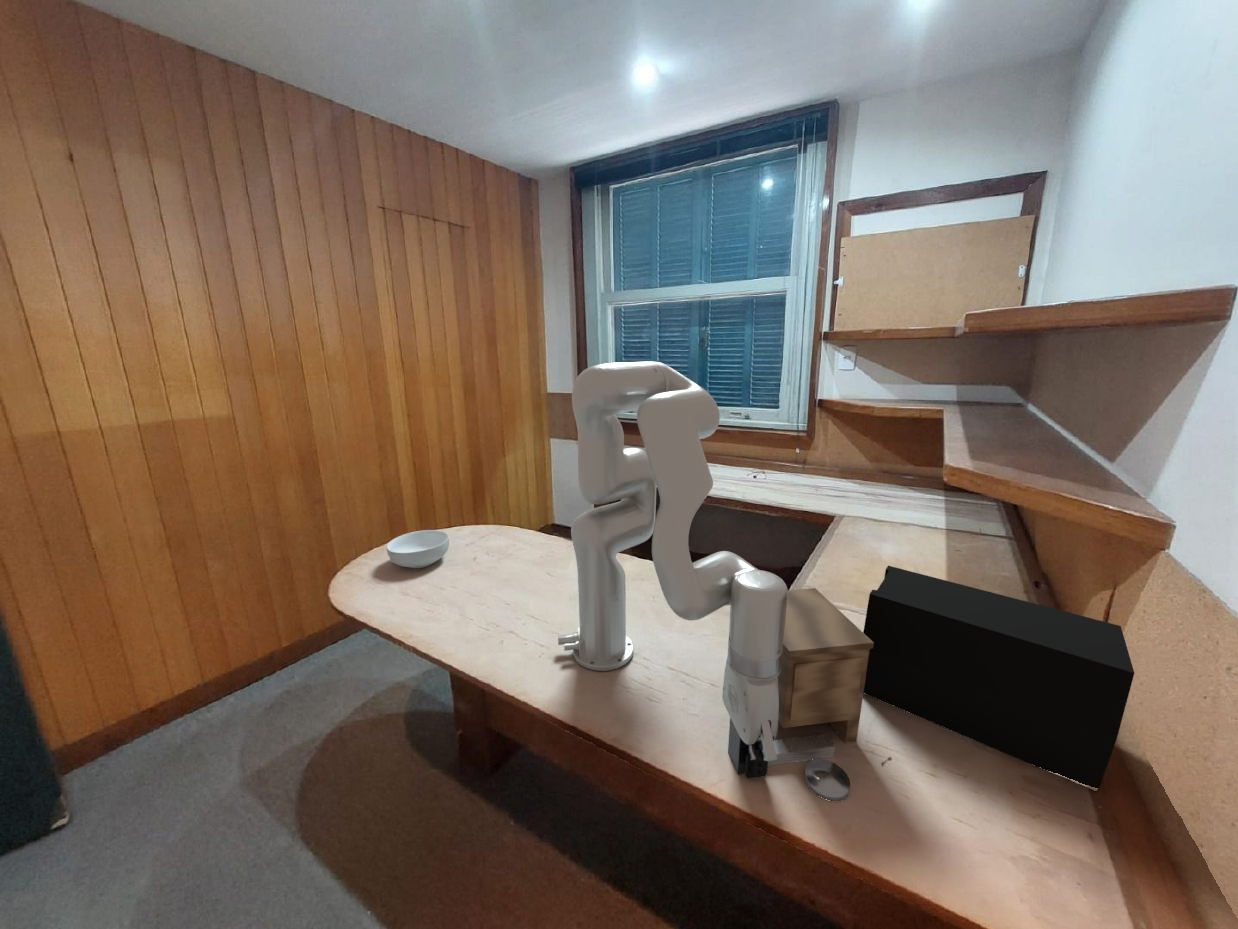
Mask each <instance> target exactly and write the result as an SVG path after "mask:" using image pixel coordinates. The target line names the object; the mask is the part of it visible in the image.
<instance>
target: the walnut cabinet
mask: <svg viewBox="0 0 1238 929" xmlns="http://www.w3.org/2000/svg"><path fill="white" fill-rule="evenodd" d="M787 591H788V597H787V608H786V619H785V630H784V641H783V653H782V664H781V672H780V674H779V676H778V685H779V719H778V724H779V725H780V726H781V727H782V729H786V728H793V727H800V726H802V727H803V726H810V725H818V724H824V723H825V724H827V723H830V725H831V726H832V727H834V728H833V729H834V730H835V732H836V731H837V732H838V733H837V732H836V733H837V734H838V736H839V737H840V738H841V740H842V741H843V743H844V742H845V743H844V744H847V742H850V743H856V742H858V741H857V740H858V735H859V734H858V733H859V727H860V719H861V714H862V713H861V712H862V706H863V705H862V704H863V698H864V693H863V692H864V685H865V678H866V671H867V664H868V657H869V650H870V649H872V648H873V645H874V642H873V641H872V640H870V639H869V638H868V637H867V636H866V635H865V634H864V633H863V631H862V630H861V629H860V628H859V627H858V626H857V625H856V624H855V623H854V622H852V621H851V620H850V619H849V618H848V617H847V616H846V615H845V614H844V613H842V611H841V610H839V608H837V607H836V606H835V605H834V604H833V603H832V602H831V601H830V600H829V599H828V598H826V597H825V596H824V595H823V594H822V593H821V592H820V591H819V590H818V589H817V588H816V587H812V588H801V589H789V590H788V589H787Z"/></svg>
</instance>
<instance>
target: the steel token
mask: <svg viewBox="0 0 1238 929" xmlns="http://www.w3.org/2000/svg"><path fill="white" fill-rule="evenodd" d="M804 771H805V772H804V780H805V784H806V783H807V784H806V786H807V785H808V786H809V787H808V786H807V787H808V789H809V788H810V789H811V790H812V791H813V792H814V793H815V794H816V795H815V794H814V793H813V792H812V791H811V790H810V789H809V790H810V791H811V792H812V793H813V794H814V795H815V796H817V797H818V796H820V797H822V798H824V799H827V800H830V801H840V802H842V801H841V800H843V799H844V800H846V799H847V798H848V797H849V794H850V787H851V780H850V777H849V775H848V774H847V772H846V771H845V770H844V769H843V768H842V767H841V766H840V765H838V764H837V763H835V762H834V761H831V760H829V759H827V758H823V759H813V760H809V761H808V762H807V764H806V765H805V770H804ZM820 797H819V798H820ZM846 797H847V798H846ZM822 798H821V799H822ZM845 798H846V799H845ZM824 799H823V800H824ZM827 800H826V801H827ZM844 800H843V801H844ZM830 801H829V802H830Z"/></svg>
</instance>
